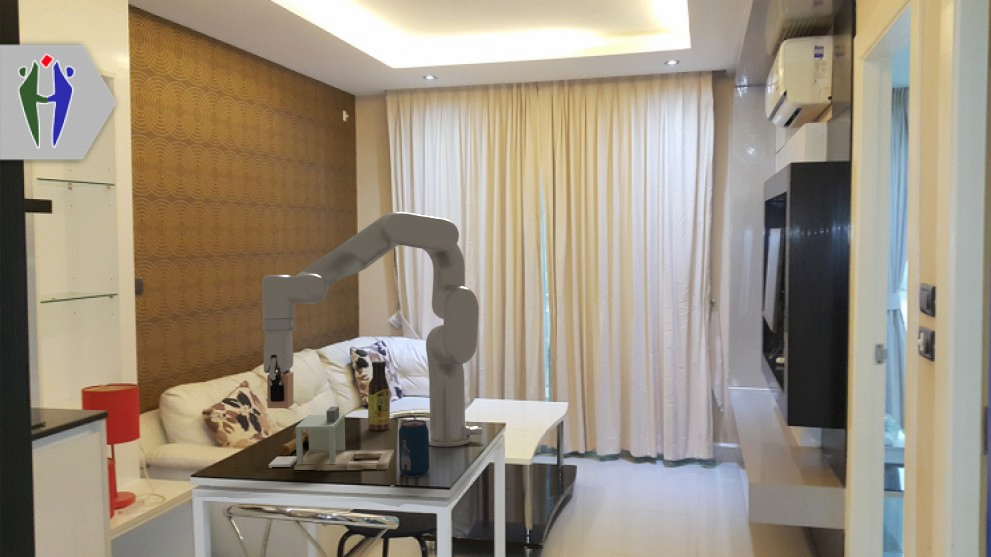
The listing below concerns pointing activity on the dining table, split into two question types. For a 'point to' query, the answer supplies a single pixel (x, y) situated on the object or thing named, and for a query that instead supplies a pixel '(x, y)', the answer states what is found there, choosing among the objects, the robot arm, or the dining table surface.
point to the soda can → (414, 448)
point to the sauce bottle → (378, 398)
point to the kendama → (293, 443)
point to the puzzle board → (345, 460)
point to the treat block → (287, 392)
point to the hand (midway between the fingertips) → (280, 398)
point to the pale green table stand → (322, 433)
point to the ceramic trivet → (283, 461)
